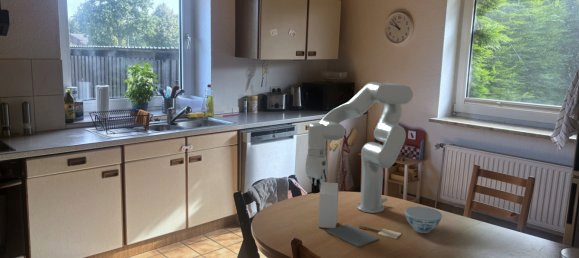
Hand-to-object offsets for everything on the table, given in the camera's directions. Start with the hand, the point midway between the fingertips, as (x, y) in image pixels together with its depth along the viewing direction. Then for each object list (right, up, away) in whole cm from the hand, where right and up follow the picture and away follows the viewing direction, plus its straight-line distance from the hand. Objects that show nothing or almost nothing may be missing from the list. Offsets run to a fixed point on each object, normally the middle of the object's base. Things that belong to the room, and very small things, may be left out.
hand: (315, 192), depth 215 cm
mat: (+14, -16, -15) cm, 26 cm away
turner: (+26, -15, -10) cm, 32 cm away
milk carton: (+5, -14, -4) cm, 15 cm away
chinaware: (+45, -15, -7) cm, 48 cm away
